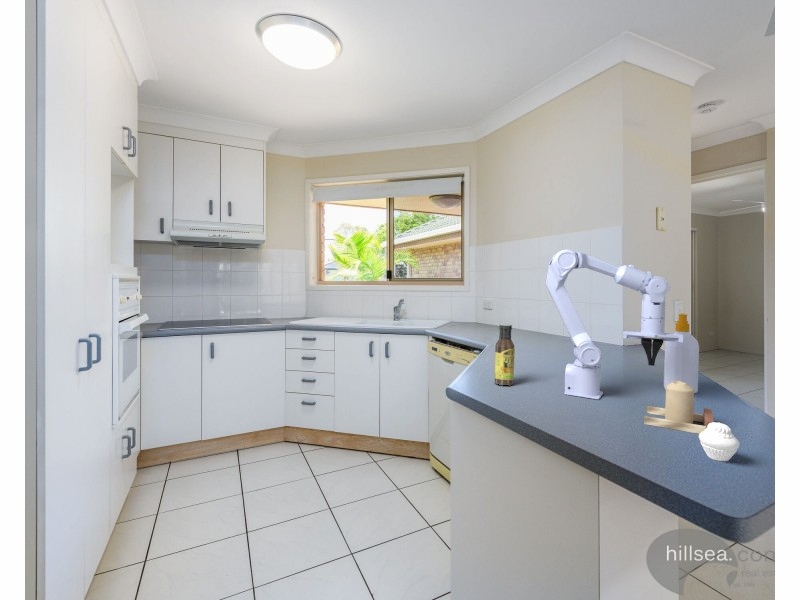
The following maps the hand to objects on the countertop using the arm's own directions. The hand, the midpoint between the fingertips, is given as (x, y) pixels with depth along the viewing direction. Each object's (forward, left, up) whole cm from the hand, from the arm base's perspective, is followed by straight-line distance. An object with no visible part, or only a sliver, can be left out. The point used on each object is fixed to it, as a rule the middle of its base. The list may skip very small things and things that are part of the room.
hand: (651, 365), depth 113 cm
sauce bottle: (-41, -9, -10) cm, 43 cm away
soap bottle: (+7, +16, -10) cm, 20 cm away
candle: (+7, -19, -10) cm, 23 cm away
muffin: (+13, -37, -10) cm, 40 cm away
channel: (+7, -19, -10) cm, 22 cm away
